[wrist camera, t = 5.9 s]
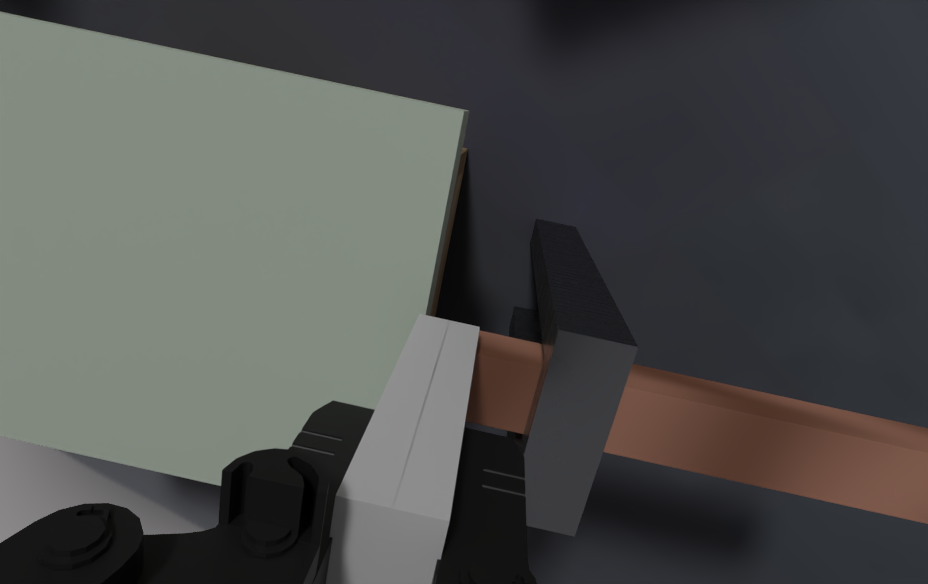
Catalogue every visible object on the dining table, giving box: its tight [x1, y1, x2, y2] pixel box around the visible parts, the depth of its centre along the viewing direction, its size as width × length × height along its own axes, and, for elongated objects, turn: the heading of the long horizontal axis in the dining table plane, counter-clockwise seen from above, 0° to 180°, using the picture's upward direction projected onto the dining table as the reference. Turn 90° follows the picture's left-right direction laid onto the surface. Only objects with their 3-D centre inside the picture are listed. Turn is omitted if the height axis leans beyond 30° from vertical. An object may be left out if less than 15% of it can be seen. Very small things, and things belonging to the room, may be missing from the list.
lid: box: [0, 12, 469, 486], centre depth 16 cm, size 14×12×3 cm
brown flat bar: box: [465, 330, 928, 524], centre depth 13 cm, size 12×2×1 cm, turn 79°
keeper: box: [507, 219, 638, 537], centre depth 17 cm, size 2×5×12 cm, turn 169°
